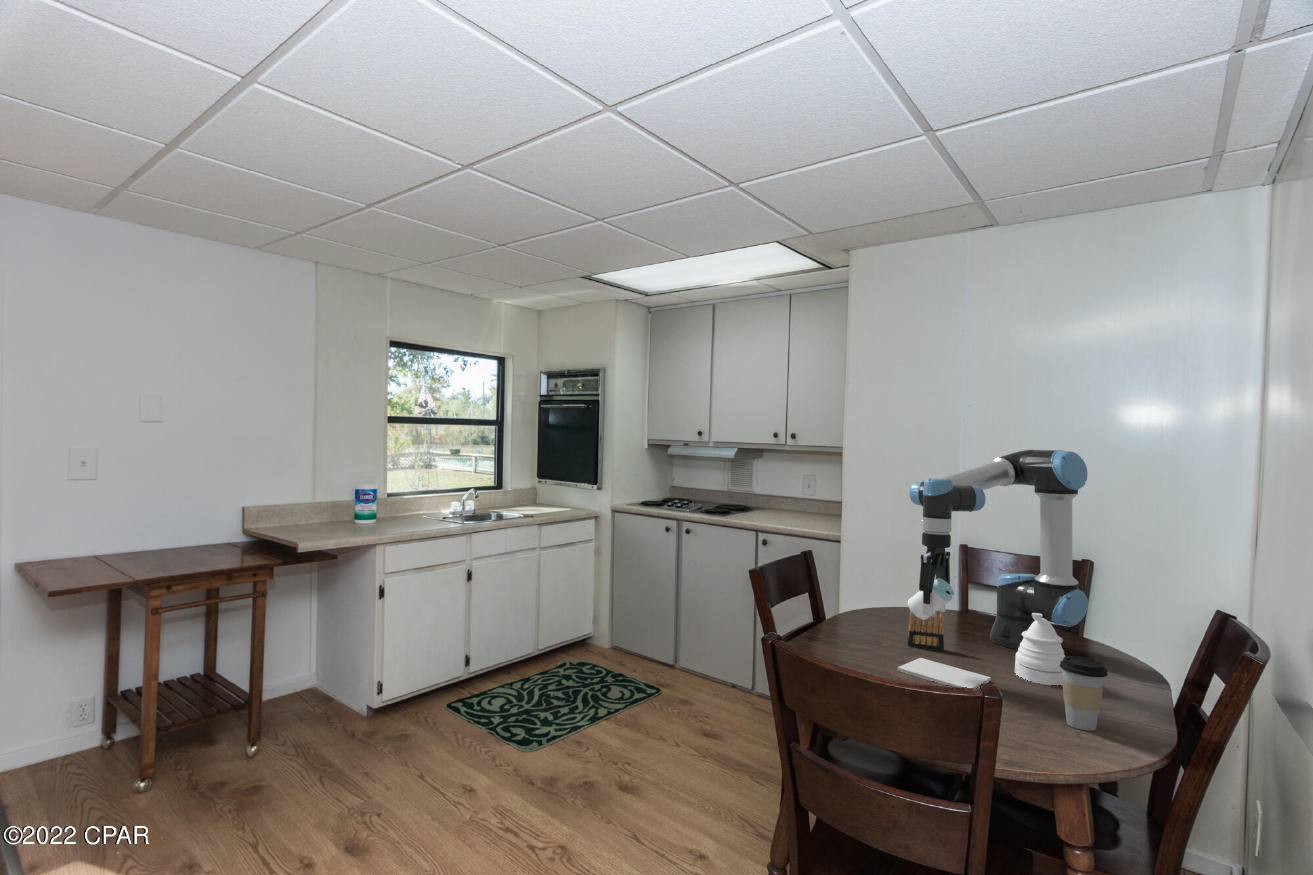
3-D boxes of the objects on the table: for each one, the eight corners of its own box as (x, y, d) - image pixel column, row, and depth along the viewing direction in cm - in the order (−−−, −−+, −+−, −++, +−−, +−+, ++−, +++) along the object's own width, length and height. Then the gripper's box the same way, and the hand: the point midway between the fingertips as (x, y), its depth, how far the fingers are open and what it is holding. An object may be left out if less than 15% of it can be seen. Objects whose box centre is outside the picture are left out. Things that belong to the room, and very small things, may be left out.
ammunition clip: (943, 649, 205) (944, 611, 205) (944, 650, 203) (945, 612, 203) (907, 644, 208) (908, 607, 208) (907, 646, 206) (909, 609, 206)
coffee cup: (1048, 716, 154) (1050, 654, 154) (1085, 716, 155) (1087, 654, 155) (1077, 734, 145) (1079, 668, 145) (1116, 734, 146) (1118, 668, 146)
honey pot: (1041, 687, 174) (1043, 620, 174) (1004, 670, 186) (1006, 608, 187) (1078, 684, 177) (1080, 619, 178) (1039, 667, 190) (1041, 607, 190)
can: (928, 614, 188) (958, 591, 182) (922, 624, 183) (953, 601, 176) (909, 596, 190) (938, 572, 184) (903, 605, 185) (933, 581, 179)
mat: (897, 670, 183) (897, 667, 183) (920, 660, 192) (920, 657, 192) (969, 692, 168) (969, 689, 168) (990, 681, 177) (990, 677, 177)
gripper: (939, 528, 192) (936, 605, 192) (906, 533, 179) (904, 615, 179) (964, 531, 187) (962, 610, 186) (933, 536, 173) (930, 621, 173)
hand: (934, 612), depth 183 cm, fingers closed on can, 7 cm apart
